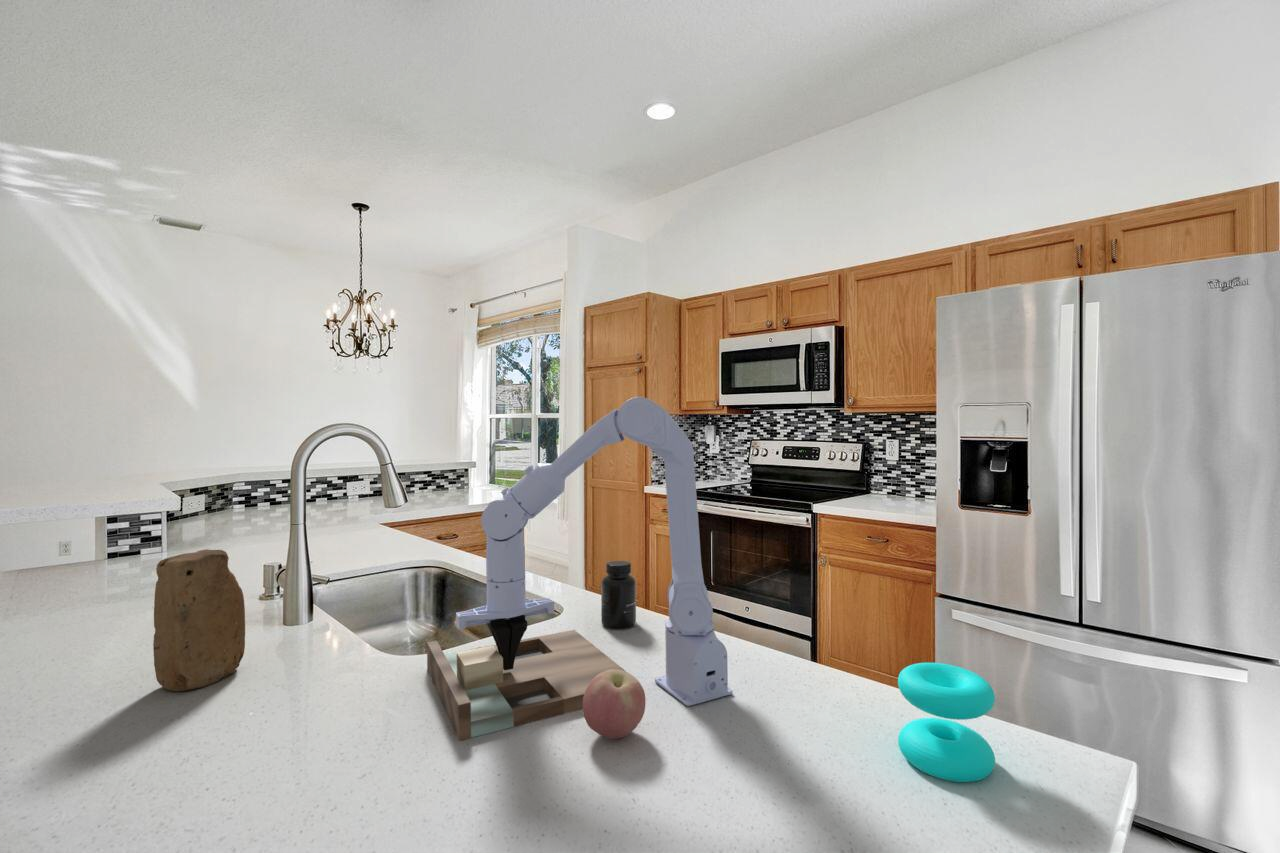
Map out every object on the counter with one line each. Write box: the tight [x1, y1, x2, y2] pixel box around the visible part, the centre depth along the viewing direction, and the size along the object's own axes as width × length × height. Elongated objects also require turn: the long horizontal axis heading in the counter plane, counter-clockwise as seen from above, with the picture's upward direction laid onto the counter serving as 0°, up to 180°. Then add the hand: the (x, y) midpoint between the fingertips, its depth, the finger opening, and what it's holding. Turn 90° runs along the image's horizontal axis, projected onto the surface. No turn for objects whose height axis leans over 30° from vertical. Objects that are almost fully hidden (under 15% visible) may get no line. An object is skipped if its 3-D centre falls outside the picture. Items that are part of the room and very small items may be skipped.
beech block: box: [456, 645, 503, 690], centre depth 88 cm, size 6×6×4 cm
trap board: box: [426, 629, 626, 742], centre depth 92 cm, size 24×26×4 cm
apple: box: [582, 669, 646, 740], centre depth 76 cm, size 8×8×8 cm
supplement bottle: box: [600, 560, 637, 630], centre depth 117 cm, size 7×7×12 cm
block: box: [152, 549, 246, 692], centre depth 94 cm, size 11×8×20 cm
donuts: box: [897, 662, 996, 783], centre depth 69 cm, size 10×10×10 cm
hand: (507, 667), depth 90 cm, fingers closed
